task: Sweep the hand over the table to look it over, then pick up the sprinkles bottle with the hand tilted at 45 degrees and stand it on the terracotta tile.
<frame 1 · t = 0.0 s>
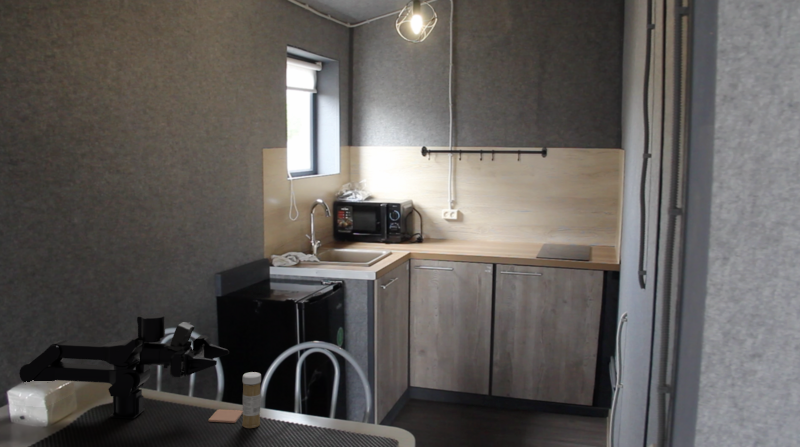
hand: (222, 357, 155), 17 cm above the table, tool horizontal, fingers open, 9 cm apart
sprinkles bottle: (251, 426, 153), on the table
tile: (226, 416, 157), on the table
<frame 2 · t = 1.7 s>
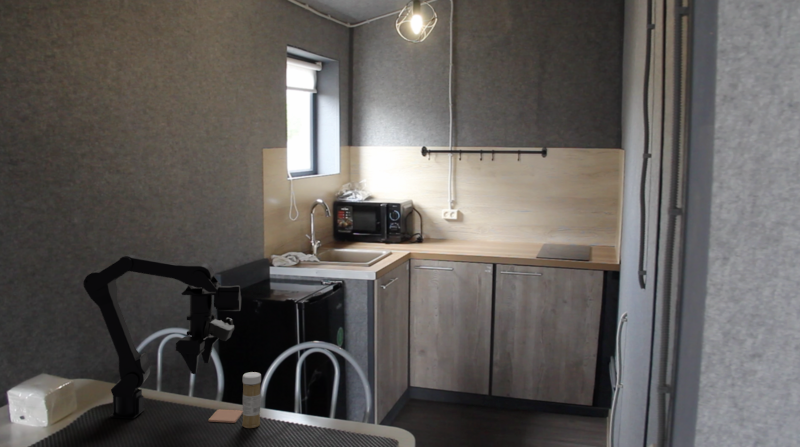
hand: (200, 368, 159), 12 cm above the table, tool pointing down, fingers open, 9 cm apart
nothing on the table moved.
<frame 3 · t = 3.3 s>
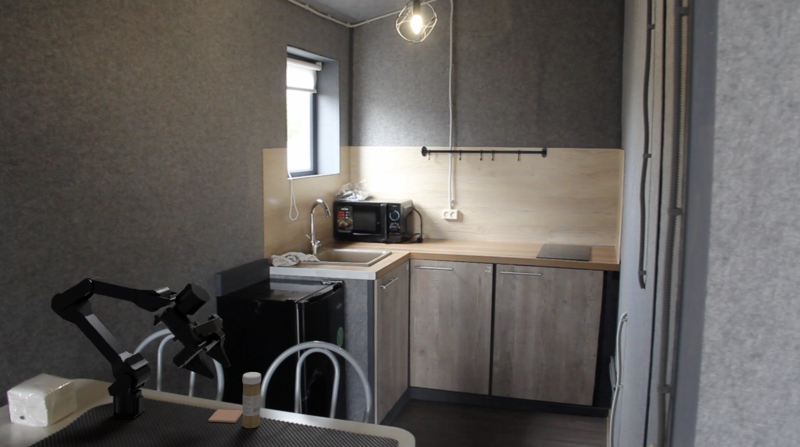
hand: (221, 372, 153), 13 cm above the table, tool tilted 45°, fingers open, 9 cm apart
nothing on the table moved.
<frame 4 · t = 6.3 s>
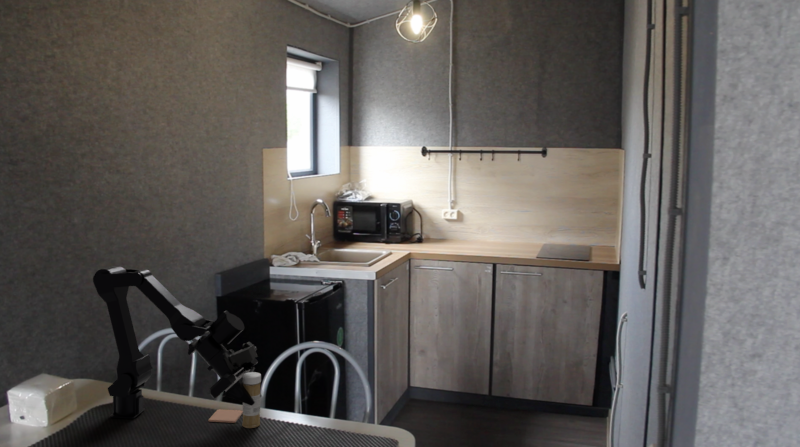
hand: (256, 400, 152), 7 cm above the table, tool tilted 45°, fingers closed on sprinkles bottle, 4 cm apart
sprinkles bottle: (251, 426, 153), on the table, touching gripper
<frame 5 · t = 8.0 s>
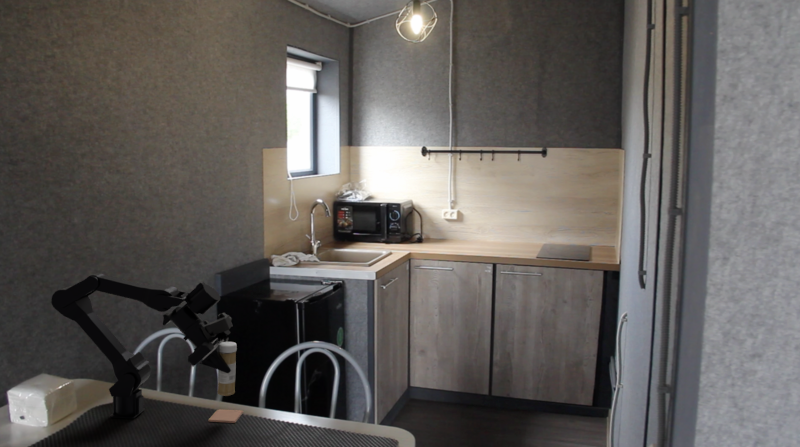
hand: (232, 369, 156), 13 cm above the table, tool tilted 45°, fingers closed on sprinkles bottle, 4 cm apart
sprinkles bottle: (226, 394, 157), point 6 cm above the table, touching gripper
when the fingers open (7 cm above the table, at t = 9.7 s): sprinkles bottle stays where it is, resting on tile.
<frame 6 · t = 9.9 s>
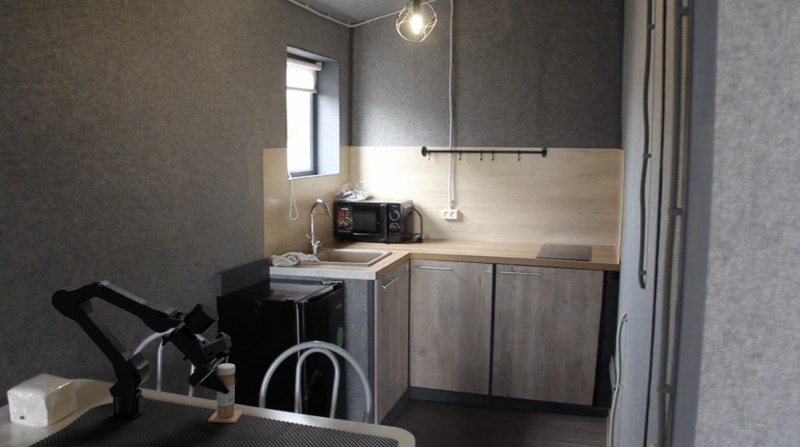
hand: (231, 388, 157), 8 cm above the table, tool tilted 45°, fingers open, 6 cm apart
sprinkles bottle: (225, 415, 157), resting on tile
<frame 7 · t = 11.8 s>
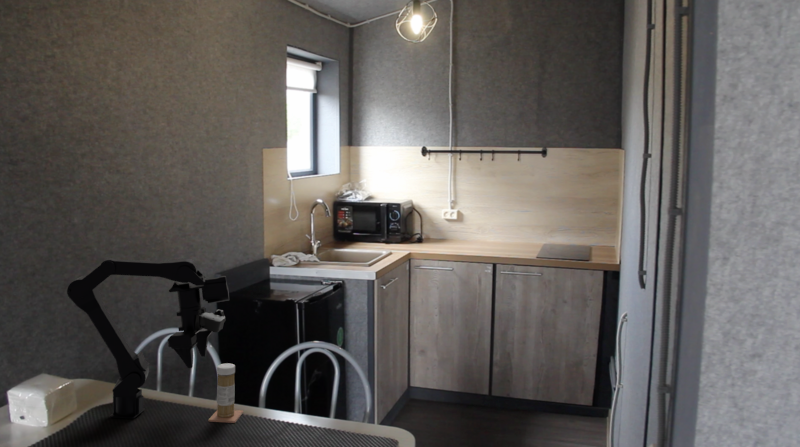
hand: (197, 362, 161), 13 cm above the table, tool pointing down, fingers open, 9 cm apart
nothing on the table moved.
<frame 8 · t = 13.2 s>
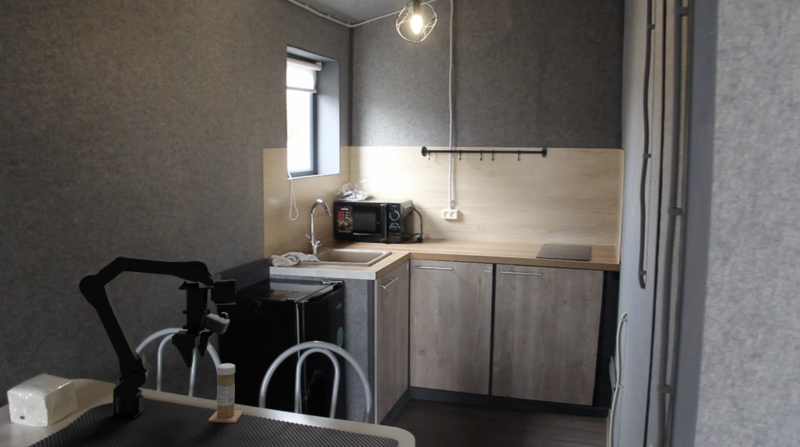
hand: (196, 361, 161), 13 cm above the table, tool pointing down, fingers open, 9 cm apart
nothing on the table moved.
at the end: sprinkles bottle inside the target area on the tile (0.2 cm from its centre), point 0.3 cm above the tile's base; sprinkles bottle tilted 0°; the gripper is holding nothing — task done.
